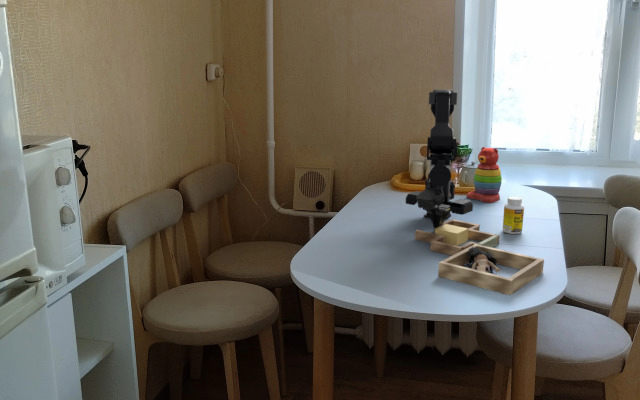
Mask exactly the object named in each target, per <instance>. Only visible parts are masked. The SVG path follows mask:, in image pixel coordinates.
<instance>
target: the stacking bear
mask: <svg viewBox="0 0 640 400" xmlns="http://www.w3.org/2000/svg"><path fill="white" fill-rule="evenodd" d="M498 152H499V151H498V149H497V148H493V147H485V146H483V147H481V148H480V151H479V153H478V156H477V160H478V163H479V164H477V167H476V169H475V172H474V176H473V185H474V190H471V191H470V192H467V194H466V198H467V199H470V200H478V201H481V202H482V203H485V204H490V203H491V204H492V203H496V202H498V201H499V200H500V199H501V196H500V190H501V186H502V180H503V179H502V178H503V177H502V172H501V168H500V166H499V165H498V164H497V163H498V161H499V153H498Z"/></svg>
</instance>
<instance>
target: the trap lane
mask: <svg viewBox="0 0 640 400" xmlns="http://www.w3.org/2000/svg"><path fill="white" fill-rule="evenodd" d="M445 224H449V225H454V226H458V227H463V228H468V239H469V240H474V241H469V242H466V243H464V244H462V245H459V246H455V245H451V244H446V243H445V242H446V236H443V235H439V234H435V230H434V229H433V232H434V233H433V232H430V231H425V230H420V229H416V230H415V232H414V239H415V240H418V241H421V242H426V243H429V244H430V252H431V251H432V252H435V253H440V254H444V255H448V256H453V255H455V254H457V253H459V252H461V251H462V250H464V249H466V248H468V247H470V246H472V245H474V244H478V245H482V246H487V247H491V248H495V247H496V246H497V245H500V234H495V233H490V232H488V231H487V232H486V231H481V230H480V228H481V227H480V226H481V225H480V224H478V223H473V222H468V221H465V220H464V221H463V220H458V219H448V220H445V221H444V223H443V225H445ZM443 225H442V226H443ZM475 241H477V242H475Z"/></svg>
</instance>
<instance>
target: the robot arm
mask: <svg viewBox="0 0 640 400" xmlns="http://www.w3.org/2000/svg"><path fill="white" fill-rule="evenodd" d="M457 104H458V92H454V89H432V91H430V92H429V93H428V105H430V111H431V113H432V114H433V117H434V119H435V120H434V124H435V125H433V127H431V129H430V131H429V133H430V134H429V135H430V136H427V142H426V143H427V144H426V161H429V172H428V175H427V178H426V179H425V181H424V182H425V183H424V184H425V185H424V189H423V190H422V191H420V190H419V191H418V190H416V191H413V192H410V193H407V194H406V196H405V204H407V205H411V206H415V205H416V204H417V207H418V208H419V209H422V210H423V211H425V212H426V214H423V217H425V218H429V219H430V220H431V223H432V226H433V231H434V230H435V228H438V227H440V226H442V225H443V223H444V222H445V221H446V219H447V218H450V217H452V214H456V215H460V216H461V215H466V214H467V213H468V214H469V213H472V212H473V210H474V209H473V208H474V204H473V203H472V201H471V200H466V199H461V198H460V199H459V198H458V199H457V200H454V199H455V191H456V184H455V183H454V181H453V180H451V179H452V170H451V169H452V162H455V161H456V158H458V149H459V148H458V145H459V144H458V141H457V138H456V137H454V129H453V128H452V127H451V126H450V117H451V115H452V114H453V112H454V111H455V106H457ZM451 161H452V162H451ZM452 200H453V201H452ZM451 213H452V214H451Z"/></svg>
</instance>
